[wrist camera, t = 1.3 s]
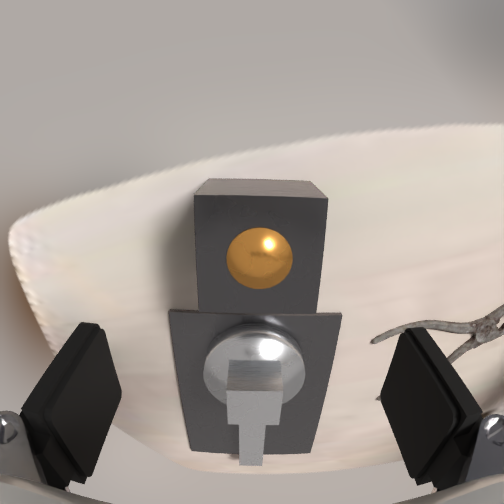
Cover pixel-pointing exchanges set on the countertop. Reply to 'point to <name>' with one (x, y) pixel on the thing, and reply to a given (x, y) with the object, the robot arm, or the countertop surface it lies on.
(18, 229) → the countertop surface
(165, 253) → the countertop surface
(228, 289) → the socket
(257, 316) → the lever switch plate
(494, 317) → the pliers
